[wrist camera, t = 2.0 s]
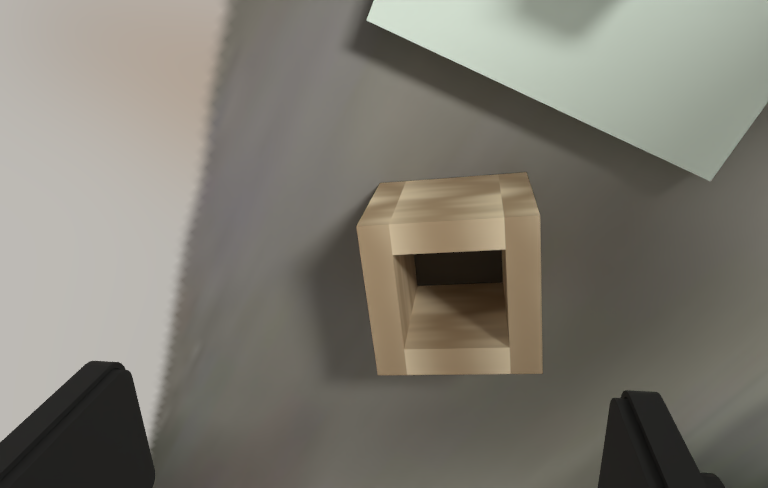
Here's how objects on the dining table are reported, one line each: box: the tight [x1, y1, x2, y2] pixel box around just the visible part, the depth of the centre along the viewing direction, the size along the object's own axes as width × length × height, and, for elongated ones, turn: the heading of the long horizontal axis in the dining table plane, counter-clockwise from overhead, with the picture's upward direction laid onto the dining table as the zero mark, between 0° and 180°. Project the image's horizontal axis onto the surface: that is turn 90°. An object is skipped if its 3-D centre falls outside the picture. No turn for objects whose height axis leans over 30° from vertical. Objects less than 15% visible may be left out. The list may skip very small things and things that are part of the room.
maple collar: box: [356, 172, 543, 375], centre depth 25 cm, size 7×7×6 cm
